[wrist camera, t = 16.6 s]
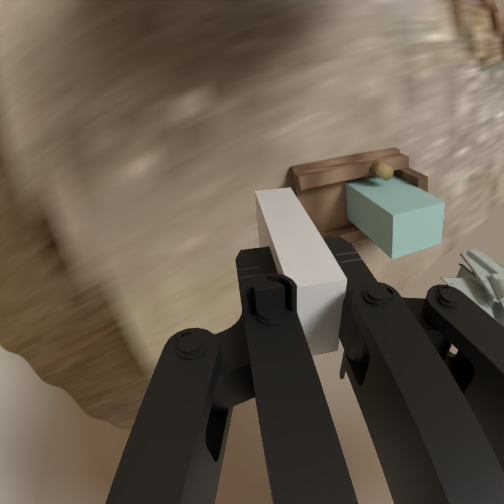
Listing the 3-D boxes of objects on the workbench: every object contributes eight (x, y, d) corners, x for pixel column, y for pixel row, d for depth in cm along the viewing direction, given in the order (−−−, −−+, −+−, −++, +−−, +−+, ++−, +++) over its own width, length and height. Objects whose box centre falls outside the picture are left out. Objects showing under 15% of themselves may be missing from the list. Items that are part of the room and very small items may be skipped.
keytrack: (301, 246, 43) (321, 274, 36) (290, 166, 37) (311, 183, 31) (396, 220, 44) (424, 242, 37) (394, 147, 38) (427, 160, 32)
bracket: (507, 251, 53) (568, 300, 36) (495, 279, 56) (551, 331, 39) (430, 241, 47) (512, 312, 30) (415, 278, 50) (487, 354, 33)
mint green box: (347, 218, 41) (391, 259, 31) (345, 182, 38) (393, 215, 29) (391, 207, 41) (440, 243, 32) (391, 173, 39) (444, 202, 29)
